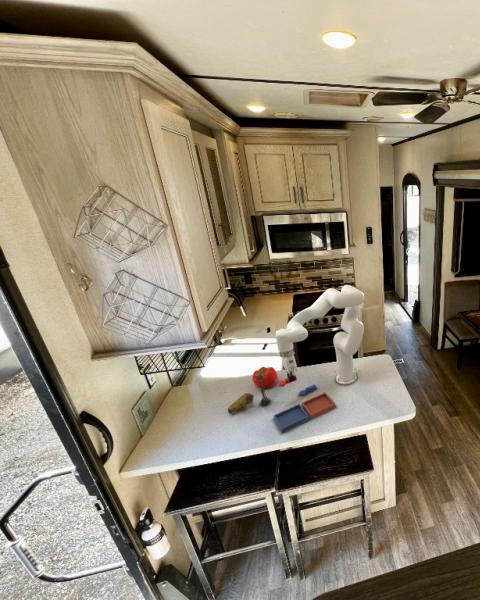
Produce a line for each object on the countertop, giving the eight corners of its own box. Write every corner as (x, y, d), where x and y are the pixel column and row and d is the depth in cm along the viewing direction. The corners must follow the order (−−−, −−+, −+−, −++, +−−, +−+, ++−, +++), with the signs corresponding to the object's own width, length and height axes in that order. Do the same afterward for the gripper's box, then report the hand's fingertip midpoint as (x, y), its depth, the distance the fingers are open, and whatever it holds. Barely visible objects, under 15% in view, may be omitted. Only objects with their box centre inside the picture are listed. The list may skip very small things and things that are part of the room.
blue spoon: (314, 386, 196) (314, 383, 195) (317, 389, 193) (316, 386, 192) (299, 393, 190) (298, 390, 189) (301, 396, 188) (301, 393, 187)
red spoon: (295, 377, 181) (294, 374, 180) (297, 381, 178) (297, 377, 178) (277, 384, 176) (277, 380, 175) (279, 387, 173) (279, 383, 172)
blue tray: (300, 407, 180) (299, 403, 179) (309, 420, 171) (308, 416, 170) (274, 419, 172) (273, 415, 171) (282, 433, 163) (281, 429, 162)
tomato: (280, 377, 205) (278, 363, 200) (274, 391, 193) (271, 376, 188) (258, 378, 204) (255, 364, 200) (251, 392, 192) (247, 377, 188)
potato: (230, 406, 181) (227, 394, 178) (255, 401, 185) (252, 389, 182) (228, 416, 174) (225, 404, 171) (254, 410, 178) (251, 399, 174)
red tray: (325, 395, 188) (325, 392, 187) (335, 407, 179) (335, 403, 178) (302, 406, 180) (301, 402, 179) (311, 419, 171) (310, 415, 170)
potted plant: (257, 406, 181) (251, 376, 173) (260, 400, 185) (253, 371, 177) (268, 405, 181) (262, 375, 173) (271, 399, 186) (264, 370, 178)
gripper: (299, 355, 167) (304, 384, 174) (288, 342, 179) (293, 370, 186) (284, 360, 163) (290, 390, 170) (274, 347, 175) (280, 375, 182)
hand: (291, 379), depth 178 cm, fingers closed on red spoon, 1 cm apart
